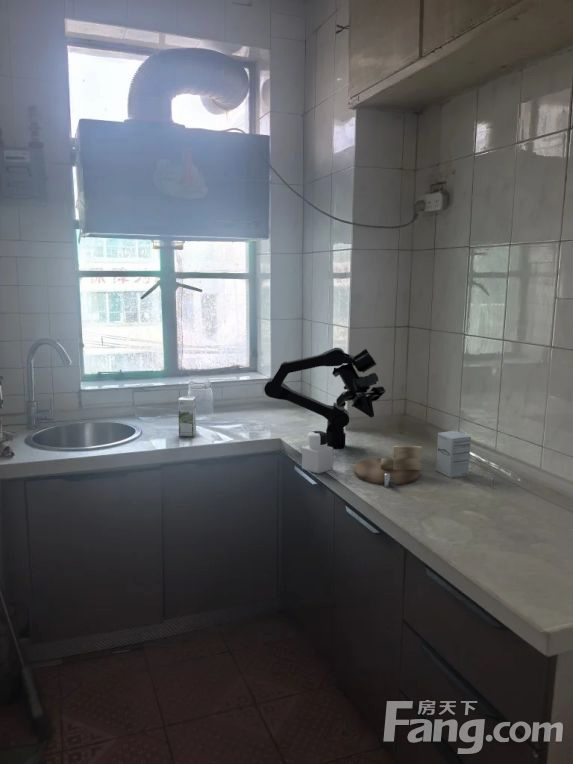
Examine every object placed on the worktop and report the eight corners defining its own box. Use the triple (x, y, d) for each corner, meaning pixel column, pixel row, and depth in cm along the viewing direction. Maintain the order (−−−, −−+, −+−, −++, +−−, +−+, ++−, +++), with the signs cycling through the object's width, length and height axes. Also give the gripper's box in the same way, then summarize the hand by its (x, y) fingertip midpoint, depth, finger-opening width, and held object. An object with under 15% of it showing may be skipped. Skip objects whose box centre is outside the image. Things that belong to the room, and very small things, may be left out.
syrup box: (196, 433, 233) (195, 396, 230) (193, 437, 227) (192, 399, 224) (181, 432, 233) (180, 395, 230) (178, 437, 227) (177, 399, 225)
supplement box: (434, 470, 192) (437, 432, 190) (453, 468, 195) (456, 430, 193) (449, 478, 185) (452, 438, 183) (469, 475, 188) (471, 436, 186)
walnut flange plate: (357, 486, 177) (358, 457, 176) (351, 462, 198) (352, 436, 197) (428, 487, 177) (429, 458, 175) (414, 463, 198) (415, 437, 196)
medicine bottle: (316, 463, 198) (317, 428, 196) (333, 469, 193) (334, 432, 191) (301, 468, 193) (301, 432, 191) (317, 474, 188) (318, 436, 186)
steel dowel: (384, 487, 177) (384, 474, 176) (384, 485, 178) (384, 472, 178) (389, 488, 177) (390, 474, 176) (389, 486, 178) (390, 473, 178)
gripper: (342, 368, 200) (365, 407, 194) (382, 363, 211) (405, 399, 205) (326, 387, 208) (347, 425, 201) (366, 382, 219) (387, 417, 212)
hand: (372, 416), depth 205 cm, fingers closed
